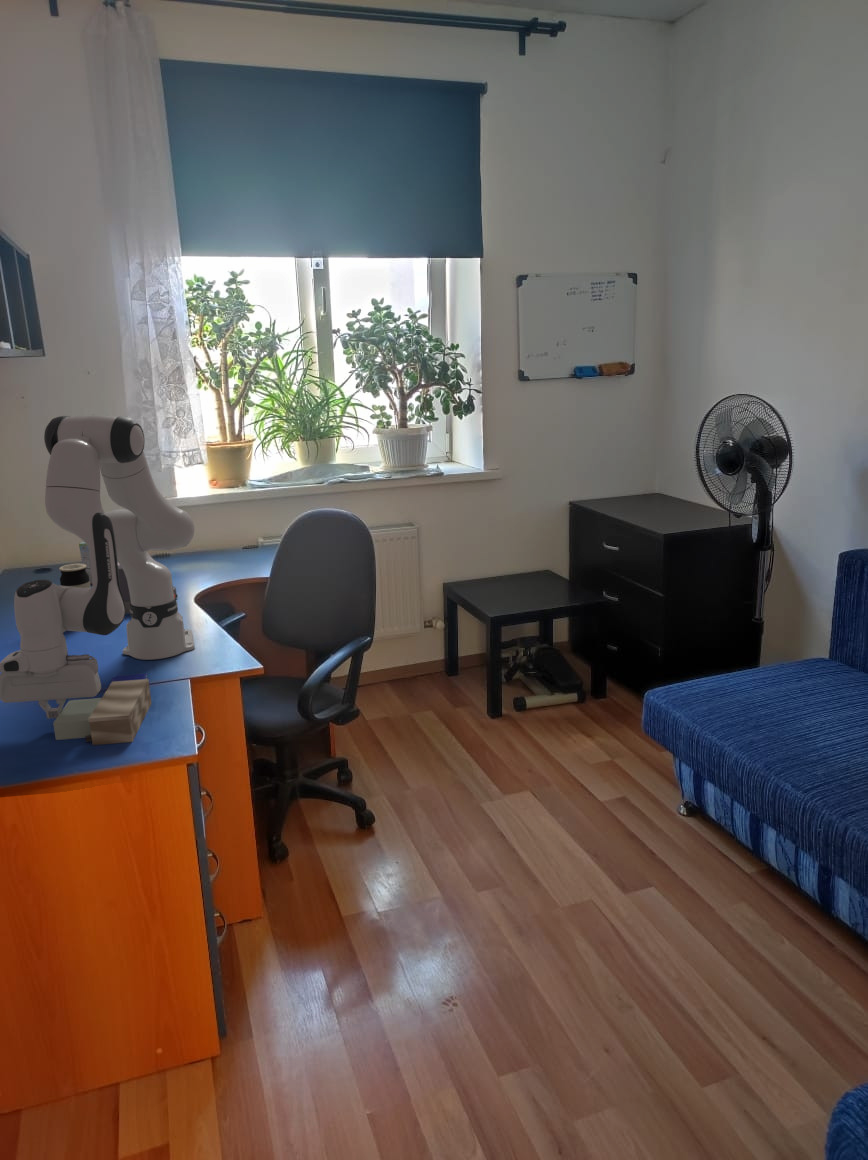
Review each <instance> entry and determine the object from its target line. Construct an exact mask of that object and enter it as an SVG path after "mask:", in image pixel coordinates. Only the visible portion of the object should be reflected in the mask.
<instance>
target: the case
mask: <svg viewBox="0 0 868 1160" xmlns="http://www.w3.org/2000/svg"><path fill="white" fill-rule="evenodd" d="M101 698H102V697H96V698H94V697H92V698H84V699H83V698H82V699H81V698H79V699H71V700H68V701H67V703H65V706H63V707H62V711H61V713H60V714H59V716H58V717H57V718H55V719H54V721H53V722H52V724H53V730H54V736H55V737H54V738H55V740H56V741H58V740H62V741H63V740H70V739H71V740H72V739H85V736H88V735H91V731H90V724H89V717H90V716H91V714H92V712H93V711H94V709H95V708H96V706H97V705H98V703H99V702H100V700H101Z"/></svg>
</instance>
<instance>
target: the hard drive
mask: <svg viewBox="0 0 868 1160" xmlns="http://www.w3.org/2000/svg"><path fill="white" fill-rule="evenodd" d="M146 677H148V674H147V673H136V674H127V675H118V676H113V677H112V678H111V680H110V683H109V686H110V684H111V683H112V682H114V681H127V680H141V679H147V678H146ZM109 686H108V687H109Z"/></svg>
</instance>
